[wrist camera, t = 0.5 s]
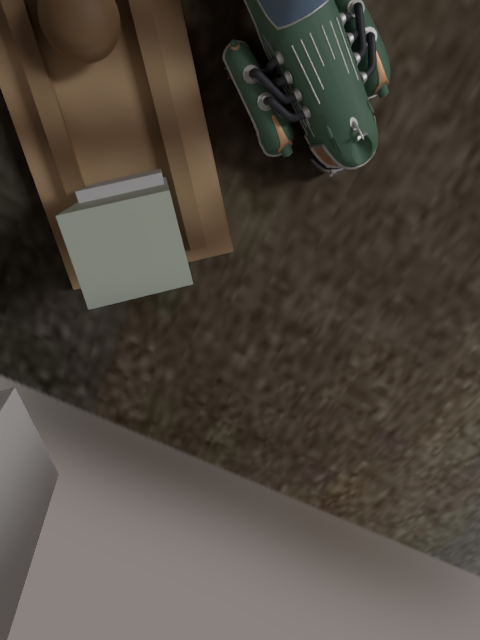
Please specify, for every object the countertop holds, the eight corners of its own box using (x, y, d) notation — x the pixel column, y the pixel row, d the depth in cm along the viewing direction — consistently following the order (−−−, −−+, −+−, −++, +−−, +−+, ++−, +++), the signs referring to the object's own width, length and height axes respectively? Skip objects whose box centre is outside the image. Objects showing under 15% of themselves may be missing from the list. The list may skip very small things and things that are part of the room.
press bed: (-38, -35, 26) (-106, -99, 20) (163, -71, 27) (164, -143, 21) (76, 285, 34) (55, 317, 27) (231, 248, 35) (248, 270, 28)
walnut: (36, -8, 26) (14, -37, 22) (110, -21, 27) (101, -53, 23) (62, 76, 28) (45, 63, 24) (132, 62, 28) (127, 46, 24)
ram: (90, 183, 30) (50, 201, 19) (163, 167, 31) (165, 176, 19) (113, 255, 32) (88, 309, 21) (181, 239, 32) (193, 283, 21)
